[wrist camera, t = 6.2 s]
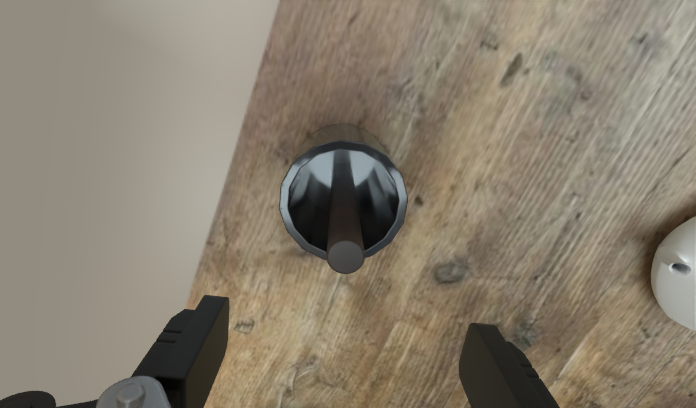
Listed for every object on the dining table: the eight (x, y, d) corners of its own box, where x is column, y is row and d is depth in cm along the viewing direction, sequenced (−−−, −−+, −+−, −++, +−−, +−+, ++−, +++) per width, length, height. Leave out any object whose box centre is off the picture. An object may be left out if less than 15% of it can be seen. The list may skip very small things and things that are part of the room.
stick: (330, 183, 33) (324, 272, 18) (333, 162, 33) (328, 237, 18) (351, 185, 34) (362, 276, 18) (354, 165, 33) (367, 242, 18)
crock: (290, 211, 35) (275, 254, 26) (298, 117, 32) (284, 132, 24) (381, 221, 36) (395, 267, 27) (397, 130, 33) (418, 149, 24)
